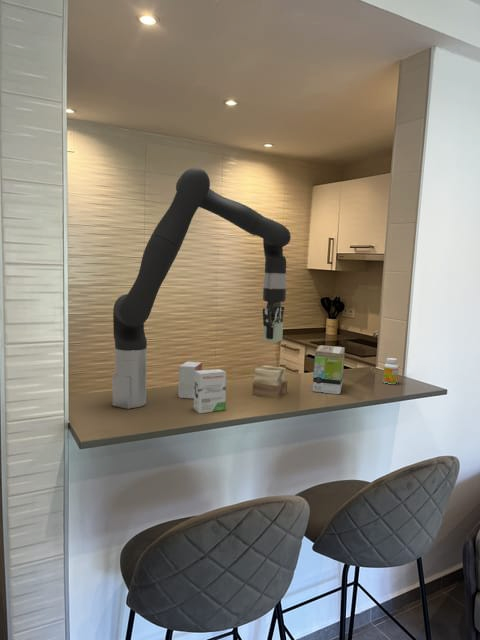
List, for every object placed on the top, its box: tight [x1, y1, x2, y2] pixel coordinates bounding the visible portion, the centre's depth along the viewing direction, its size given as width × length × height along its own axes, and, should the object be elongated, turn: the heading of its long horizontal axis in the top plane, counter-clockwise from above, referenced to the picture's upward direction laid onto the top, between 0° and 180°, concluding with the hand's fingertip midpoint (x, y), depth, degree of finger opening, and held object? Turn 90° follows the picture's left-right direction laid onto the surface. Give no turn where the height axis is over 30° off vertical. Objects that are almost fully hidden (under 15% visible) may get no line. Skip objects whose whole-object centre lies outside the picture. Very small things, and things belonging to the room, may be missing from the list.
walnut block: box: [251, 380, 288, 400], centre depth 154 cm, size 9×9×4 cm
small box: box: [178, 361, 203, 400], centre depth 149 cm, size 8×6×10 cm
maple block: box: [254, 364, 287, 386], centre depth 154 cm, size 8×8×4 cm
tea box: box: [311, 344, 346, 395], centre depth 164 cm, size 15×10×15 cm
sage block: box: [262, 322, 284, 343], centre depth 152 cm, size 5×5×6 cm
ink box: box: [193, 368, 227, 414], centre depth 134 cm, size 9×5×12 cm, turn 116°
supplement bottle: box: [382, 357, 399, 385], centre depth 175 cm, size 5×5×10 cm
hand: (272, 337), depth 152 cm, fingers closed on sage block, 5 cm apart
